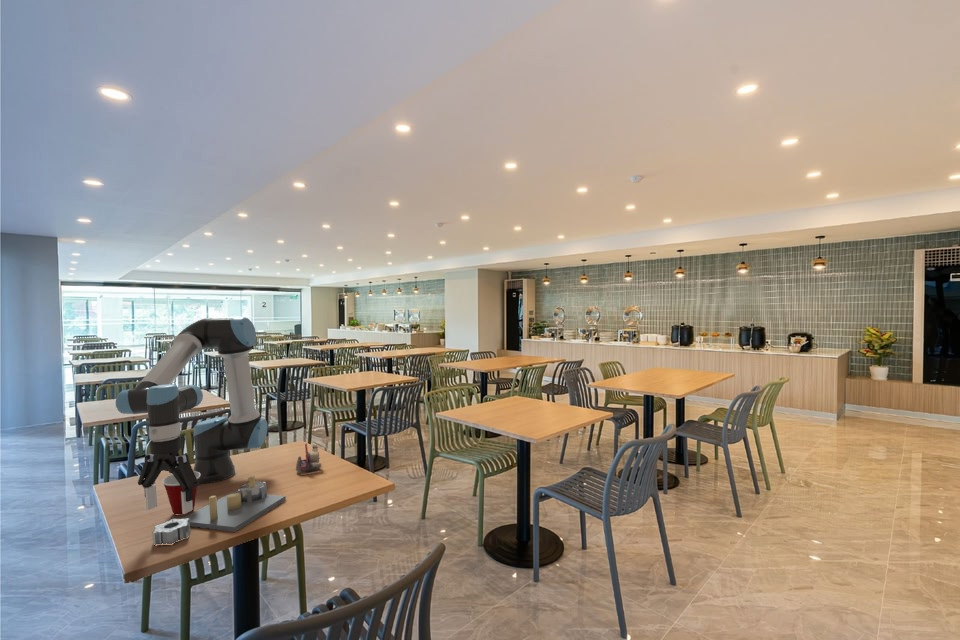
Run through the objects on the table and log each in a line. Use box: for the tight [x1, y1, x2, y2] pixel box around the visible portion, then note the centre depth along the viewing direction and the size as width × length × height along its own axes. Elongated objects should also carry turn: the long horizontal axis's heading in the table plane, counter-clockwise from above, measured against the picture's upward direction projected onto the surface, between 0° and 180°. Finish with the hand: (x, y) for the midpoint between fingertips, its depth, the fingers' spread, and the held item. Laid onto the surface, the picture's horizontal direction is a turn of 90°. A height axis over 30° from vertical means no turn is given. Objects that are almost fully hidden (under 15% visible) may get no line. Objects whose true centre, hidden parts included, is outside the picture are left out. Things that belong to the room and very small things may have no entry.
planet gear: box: [152, 518, 191, 545], centre depth 132 cm, size 9×9×4 cm
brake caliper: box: [295, 443, 322, 476], centre depth 185 cm, size 11×11×12 cm
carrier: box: [181, 475, 287, 533], centre depth 148 cm, size 22×22×8 cm
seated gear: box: [237, 480, 268, 503], centre depth 156 cm, size 9×8×4 cm
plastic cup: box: [161, 471, 201, 515], centre depth 150 cm, size 11×11×12 cm
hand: (169, 510), depth 132 cm, fingers open, 13 cm apart
